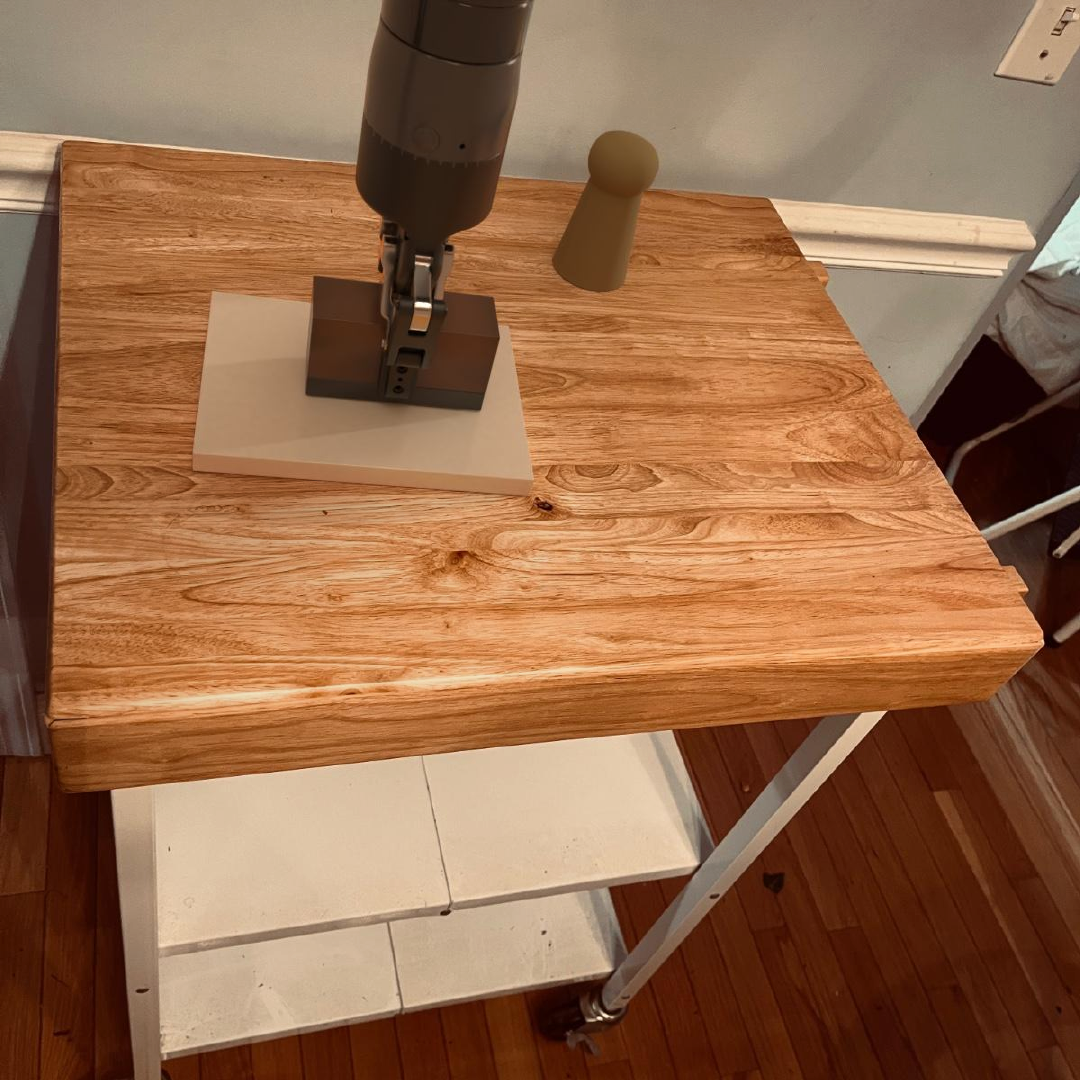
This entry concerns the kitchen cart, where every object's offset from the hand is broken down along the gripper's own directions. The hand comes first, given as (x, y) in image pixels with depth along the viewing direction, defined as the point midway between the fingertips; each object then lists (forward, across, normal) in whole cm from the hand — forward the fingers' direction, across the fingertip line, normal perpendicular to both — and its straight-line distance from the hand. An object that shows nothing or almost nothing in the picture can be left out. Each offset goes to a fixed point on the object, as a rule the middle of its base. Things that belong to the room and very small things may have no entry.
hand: (393, 369), depth 67 cm
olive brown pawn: (+3, +18, -17) cm, 25 cm away
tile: (+3, 0, +2) cm, 3 cm away
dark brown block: (+1, 0, 0) cm, 1 cm away
